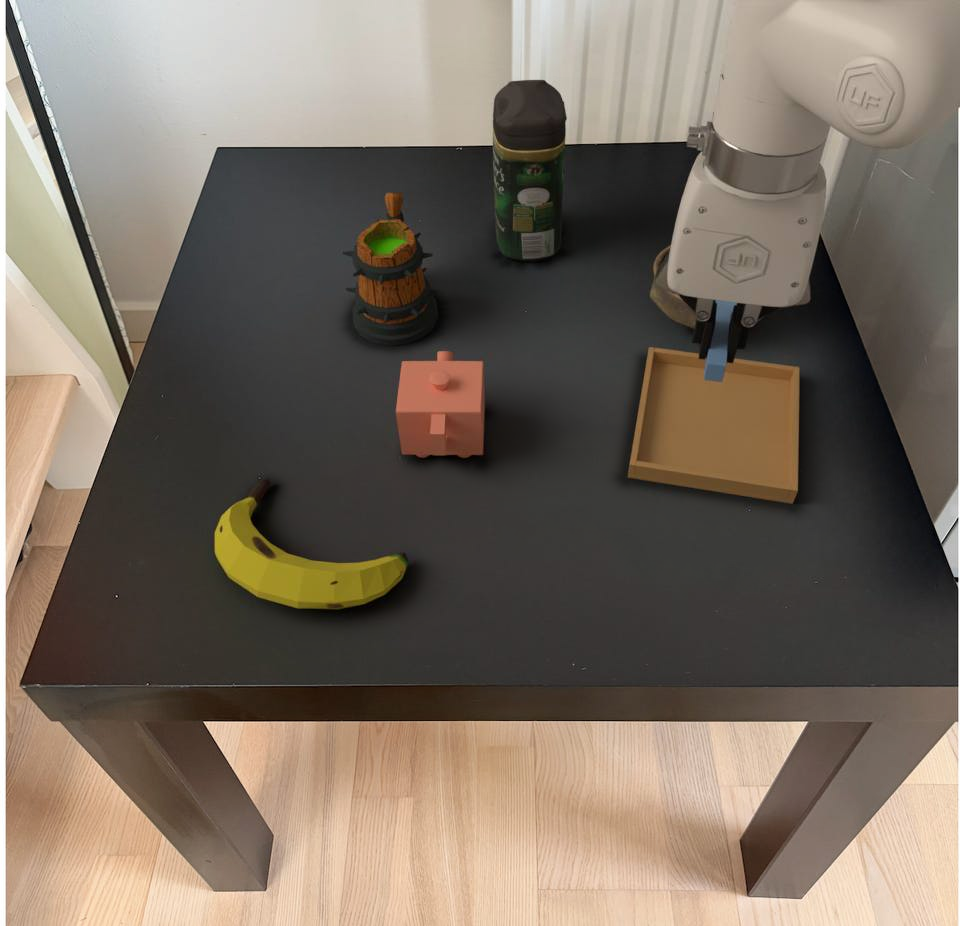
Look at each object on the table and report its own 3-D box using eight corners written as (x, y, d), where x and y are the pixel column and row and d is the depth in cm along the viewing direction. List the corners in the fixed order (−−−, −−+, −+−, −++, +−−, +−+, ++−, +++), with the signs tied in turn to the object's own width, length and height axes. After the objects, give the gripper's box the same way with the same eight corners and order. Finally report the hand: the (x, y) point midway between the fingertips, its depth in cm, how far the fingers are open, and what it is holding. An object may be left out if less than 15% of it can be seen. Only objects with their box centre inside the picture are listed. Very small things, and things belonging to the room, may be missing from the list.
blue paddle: (737, 384, 74) (742, 367, 72) (688, 377, 74) (691, 361, 73) (744, 292, 80) (748, 275, 79) (698, 287, 81) (702, 270, 79)
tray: (794, 380, 93) (799, 367, 92) (792, 504, 83) (798, 490, 82) (646, 360, 96) (649, 346, 94) (627, 477, 86) (629, 464, 84)
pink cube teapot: (486, 388, 94) (483, 328, 88) (482, 478, 86) (480, 420, 80) (411, 387, 94) (403, 328, 88) (401, 478, 87) (392, 420, 80)
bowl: (649, 353, 97) (661, 278, 89) (642, 250, 108) (652, 177, 100) (781, 356, 96) (804, 282, 88) (760, 253, 107) (779, 178, 99)
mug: (436, 348, 98) (429, 262, 89) (343, 346, 99) (326, 260, 90) (447, 272, 106) (441, 186, 97) (361, 270, 107) (347, 184, 98)
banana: (403, 591, 74) (415, 468, 85) (189, 583, 73) (230, 461, 85) (403, 626, 77) (415, 503, 88) (198, 619, 76) (236, 496, 88)
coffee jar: (492, 217, 113) (489, 73, 98) (556, 214, 113) (562, 69, 98) (496, 267, 106) (494, 120, 92) (564, 263, 106) (571, 117, 92)
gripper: (641, 170, 60) (617, 368, 74) (887, 194, 58) (813, 395, 72) (653, 111, 65) (628, 308, 79) (881, 132, 62) (813, 331, 77)
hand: (716, 348), depth 75 cm, fingers closed on blue paddle, 1 cm apart
